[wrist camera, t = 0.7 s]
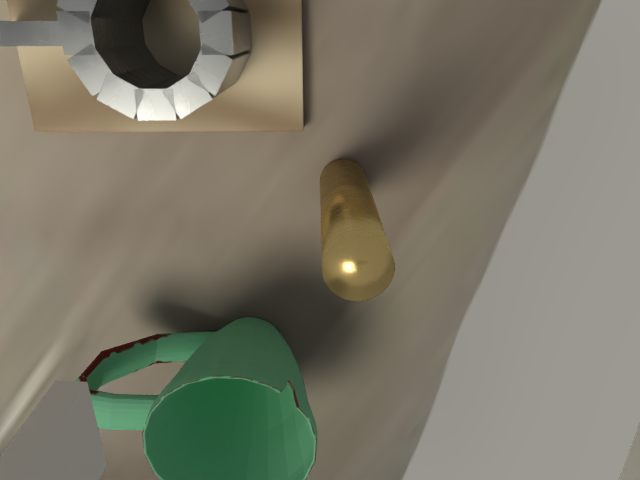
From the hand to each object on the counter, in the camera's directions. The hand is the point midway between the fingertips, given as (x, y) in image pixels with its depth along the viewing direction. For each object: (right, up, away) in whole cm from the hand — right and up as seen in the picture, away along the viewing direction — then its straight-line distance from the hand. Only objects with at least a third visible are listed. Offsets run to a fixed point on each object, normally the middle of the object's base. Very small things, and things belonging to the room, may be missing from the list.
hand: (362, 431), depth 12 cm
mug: (-8, -3, +26) cm, 27 cm away
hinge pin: (0, +8, +21) cm, 22 cm away
